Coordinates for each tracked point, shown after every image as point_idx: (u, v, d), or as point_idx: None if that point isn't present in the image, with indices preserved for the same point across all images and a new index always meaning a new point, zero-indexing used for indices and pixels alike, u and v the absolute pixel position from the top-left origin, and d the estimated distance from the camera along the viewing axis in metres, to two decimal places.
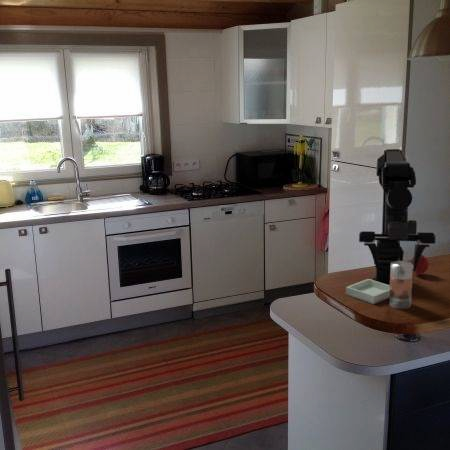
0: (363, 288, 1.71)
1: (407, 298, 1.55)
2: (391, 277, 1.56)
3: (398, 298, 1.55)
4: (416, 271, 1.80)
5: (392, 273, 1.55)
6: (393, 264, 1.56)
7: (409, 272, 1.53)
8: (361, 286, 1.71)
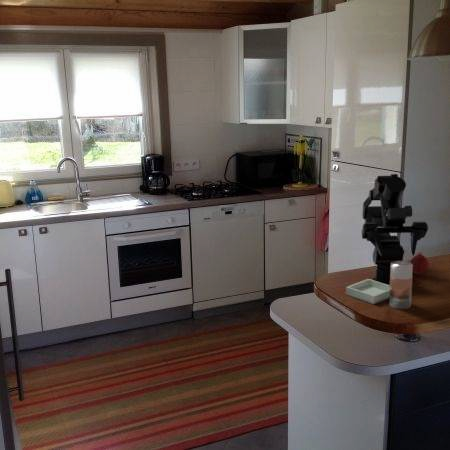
0: (363, 288, 1.71)
1: (407, 298, 1.55)
2: (391, 277, 1.56)
3: (398, 298, 1.55)
4: (416, 271, 1.80)
5: (392, 273, 1.55)
6: (393, 264, 1.56)
7: (409, 272, 1.53)
8: (361, 286, 1.71)
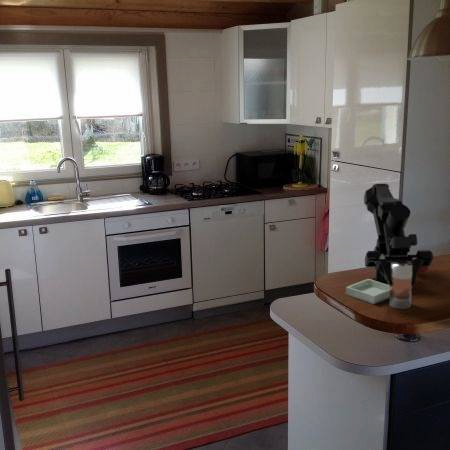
0: (363, 288, 1.71)
1: (407, 298, 1.55)
2: (391, 277, 1.56)
3: (398, 298, 1.55)
4: None
5: (392, 273, 1.55)
6: (393, 264, 1.56)
7: (409, 272, 1.53)
8: (361, 286, 1.71)
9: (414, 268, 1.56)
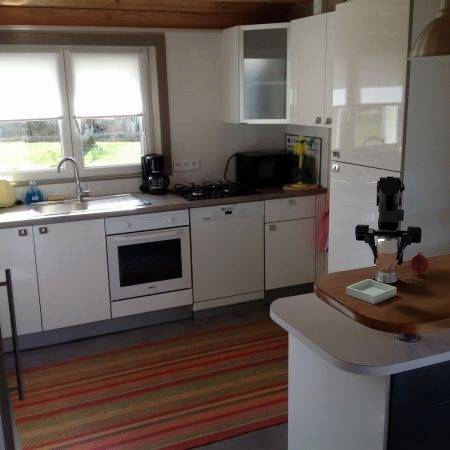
0: (363, 288, 1.71)
1: (391, 272, 1.57)
2: (376, 251, 1.58)
3: (381, 272, 1.57)
4: (416, 271, 1.80)
5: (377, 247, 1.57)
6: (379, 238, 1.58)
7: (393, 246, 1.55)
8: (361, 286, 1.71)
9: (401, 243, 1.57)
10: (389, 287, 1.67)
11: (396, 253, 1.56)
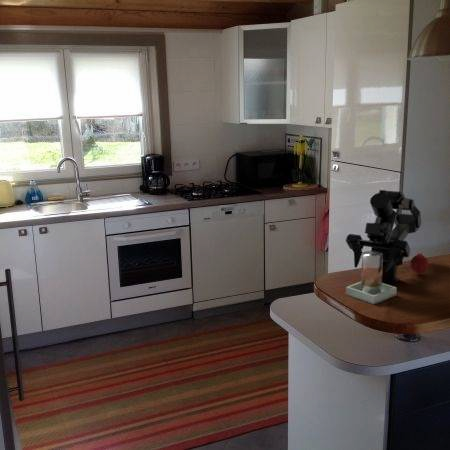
0: None
1: (372, 286, 1.63)
2: None
3: (364, 285, 1.65)
4: (416, 271, 1.80)
5: (362, 261, 1.65)
6: (364, 252, 1.65)
7: (375, 262, 1.61)
8: None
9: (390, 256, 1.61)
10: (389, 287, 1.67)
11: (378, 268, 1.62)
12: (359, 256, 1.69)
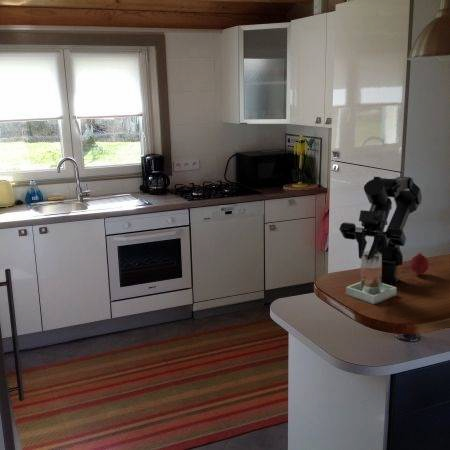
0: None
1: (372, 287, 1.63)
2: None
3: (363, 285, 1.65)
4: (416, 271, 1.80)
5: (361, 261, 1.65)
6: (363, 253, 1.65)
7: (374, 262, 1.61)
8: None
9: (373, 243, 1.58)
10: (389, 287, 1.67)
11: (377, 269, 1.62)
12: (363, 246, 1.61)
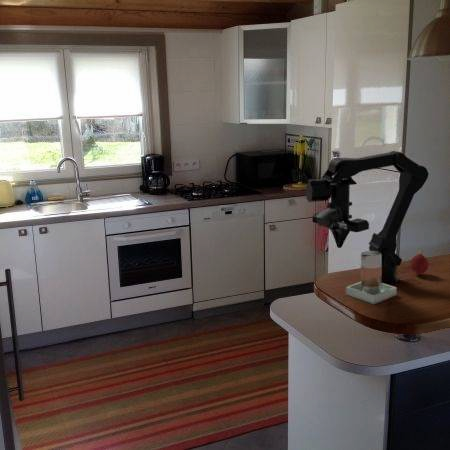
0: None
1: (371, 287, 1.63)
2: None
3: (363, 285, 1.65)
4: (416, 271, 1.80)
5: (361, 261, 1.65)
6: (363, 253, 1.65)
7: (373, 262, 1.61)
8: None
9: (338, 235, 1.69)
10: (389, 287, 1.67)
11: (377, 269, 1.62)
12: None
